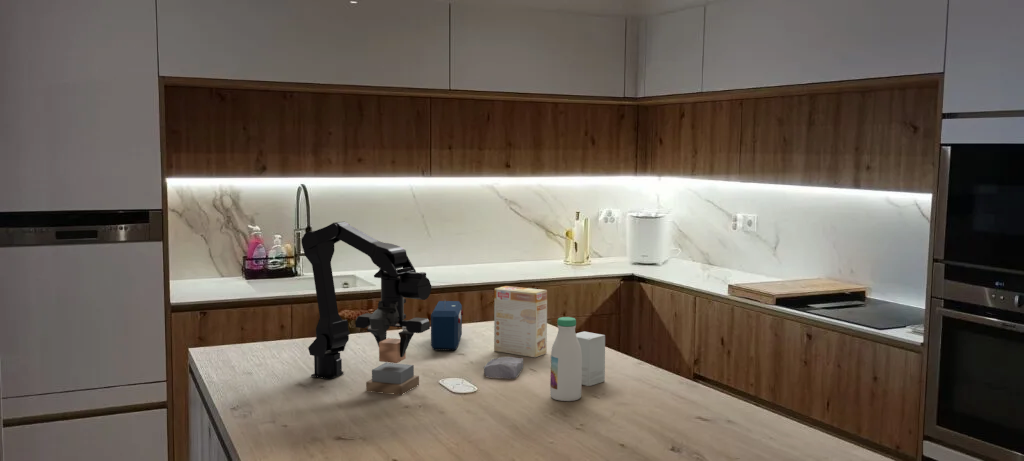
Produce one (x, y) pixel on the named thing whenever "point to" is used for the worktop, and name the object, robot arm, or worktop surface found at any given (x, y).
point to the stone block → (503, 367)
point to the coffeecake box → (520, 321)
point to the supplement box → (592, 357)
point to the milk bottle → (566, 362)
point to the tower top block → (392, 373)
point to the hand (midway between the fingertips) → (392, 355)
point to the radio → (446, 325)
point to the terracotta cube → (390, 351)
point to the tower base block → (392, 386)
